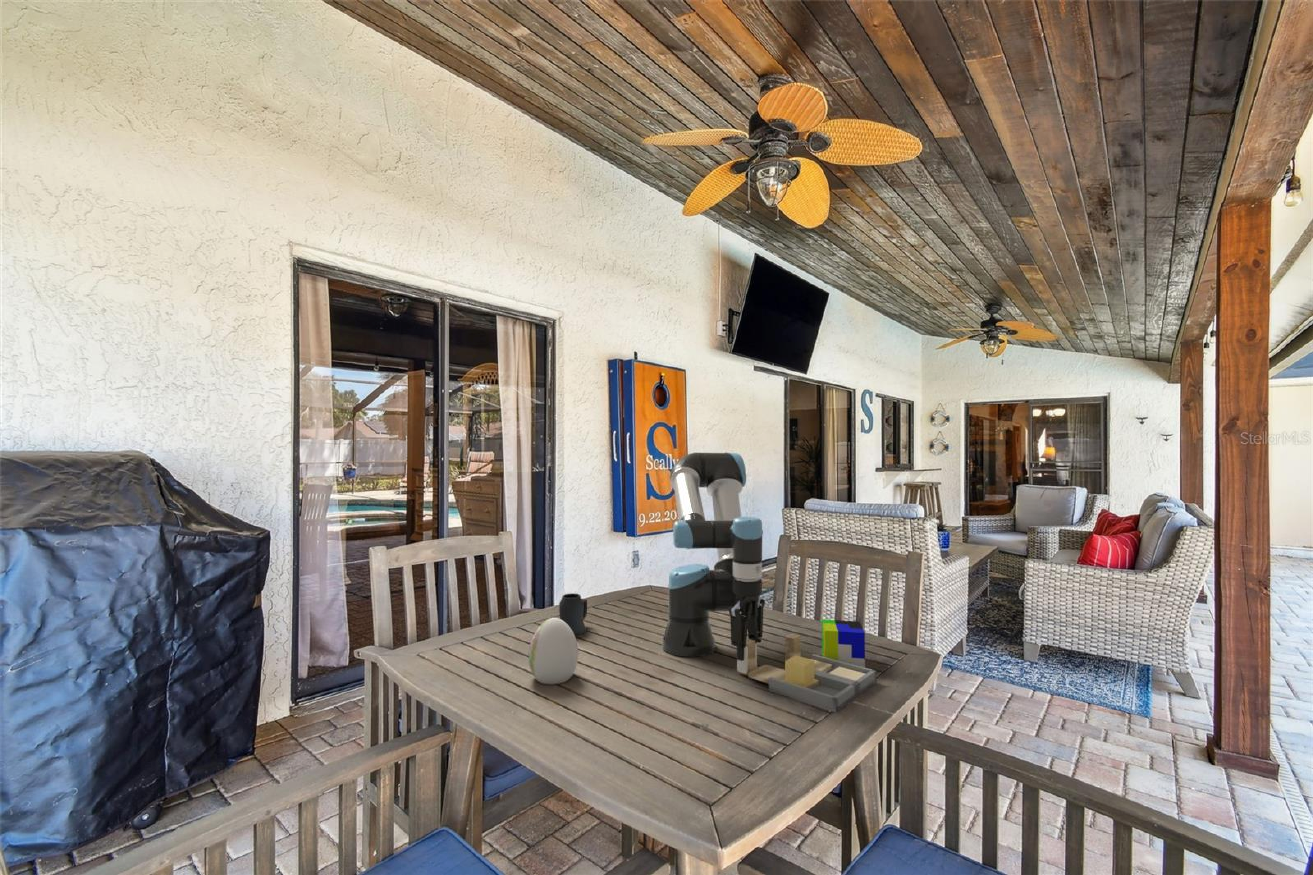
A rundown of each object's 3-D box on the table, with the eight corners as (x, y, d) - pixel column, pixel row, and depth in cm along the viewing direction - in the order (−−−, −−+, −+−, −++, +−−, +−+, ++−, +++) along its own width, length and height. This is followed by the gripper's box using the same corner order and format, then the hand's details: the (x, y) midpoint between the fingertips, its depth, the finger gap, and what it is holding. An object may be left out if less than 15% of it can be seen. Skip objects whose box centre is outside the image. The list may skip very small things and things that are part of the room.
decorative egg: (548, 665, 157) (548, 609, 157) (587, 673, 151) (587, 615, 151) (518, 682, 146) (518, 621, 146) (559, 691, 140) (559, 628, 140)
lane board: (768, 690, 141) (768, 678, 141) (813, 665, 157) (813, 653, 157) (835, 712, 129) (835, 698, 129) (876, 682, 145) (876, 670, 145)
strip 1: (734, 675, 149) (734, 643, 149) (751, 667, 155) (751, 636, 155) (803, 697, 136) (803, 663, 136) (819, 687, 142) (819, 654, 142)
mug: (574, 637, 179) (574, 600, 179) (550, 633, 183) (550, 597, 184) (596, 627, 190) (596, 592, 190) (573, 623, 194) (573, 588, 194)
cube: (785, 681, 141) (785, 660, 141) (795, 675, 144) (795, 655, 145) (804, 687, 137) (804, 666, 137) (814, 681, 141) (814, 660, 141)
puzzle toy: (864, 671, 153) (864, 632, 153) (824, 668, 155) (824, 630, 155) (859, 657, 163) (859, 621, 163) (822, 655, 165) (821, 619, 165)
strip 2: (781, 669, 153) (781, 638, 153) (796, 661, 159) (796, 631, 159) (817, 680, 146) (817, 648, 146) (832, 671, 152) (831, 640, 152)
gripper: (741, 586, 143) (741, 683, 142) (776, 575, 155) (776, 664, 155) (716, 581, 148) (715, 675, 147) (752, 570, 160) (752, 657, 160)
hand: (747, 669), depth 151 cm, fingers closed on strip 1, 4 cm apart
